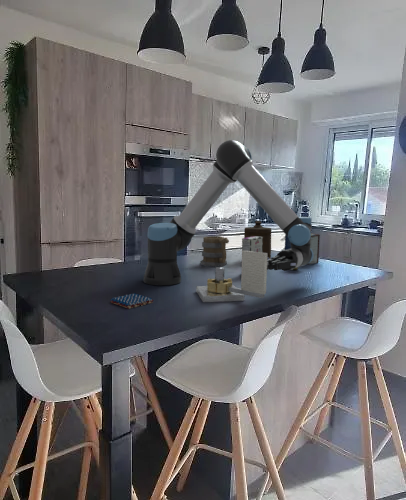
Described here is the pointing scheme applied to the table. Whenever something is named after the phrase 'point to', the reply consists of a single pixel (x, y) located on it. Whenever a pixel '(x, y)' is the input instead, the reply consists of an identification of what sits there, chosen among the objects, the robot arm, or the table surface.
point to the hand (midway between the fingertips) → (256, 268)
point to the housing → (216, 297)
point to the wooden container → (260, 232)
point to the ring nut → (246, 277)
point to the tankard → (214, 251)
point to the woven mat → (131, 300)
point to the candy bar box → (252, 244)
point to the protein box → (313, 245)
